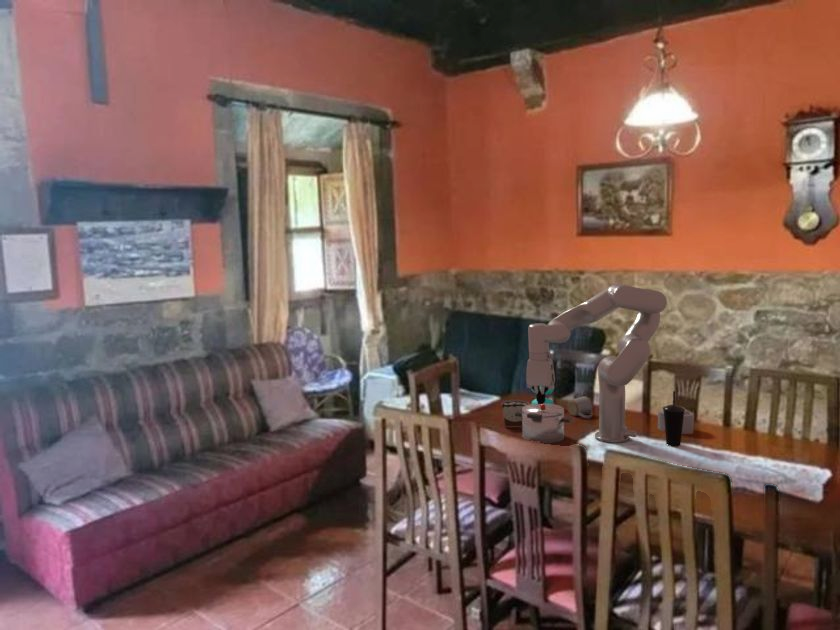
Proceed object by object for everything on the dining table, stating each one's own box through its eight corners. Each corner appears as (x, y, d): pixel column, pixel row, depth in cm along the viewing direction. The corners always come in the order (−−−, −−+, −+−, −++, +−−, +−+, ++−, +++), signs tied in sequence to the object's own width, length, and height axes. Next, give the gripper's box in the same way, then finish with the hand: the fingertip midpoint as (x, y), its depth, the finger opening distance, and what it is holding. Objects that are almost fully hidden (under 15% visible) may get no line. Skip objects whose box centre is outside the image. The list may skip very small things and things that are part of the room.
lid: (569, 408, 258) (569, 402, 258) (553, 421, 243) (553, 413, 243) (530, 404, 267) (530, 398, 266) (513, 416, 251) (513, 409, 251)
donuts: (529, 383, 305) (551, 382, 306) (529, 404, 307) (551, 403, 307) (533, 388, 296) (556, 387, 296) (533, 410, 297) (556, 409, 297)
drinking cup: (670, 448, 239) (671, 394, 237) (658, 442, 246) (658, 390, 244) (689, 446, 241) (690, 392, 239) (675, 440, 248) (676, 388, 246)
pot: (577, 435, 258) (577, 410, 257) (563, 446, 245) (563, 420, 243) (524, 428, 269) (524, 404, 268) (508, 438, 256) (508, 413, 255)
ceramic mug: (566, 414, 288) (566, 397, 287) (580, 411, 292) (580, 394, 291) (582, 420, 279) (582, 402, 278) (597, 417, 283) (597, 399, 282)
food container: (530, 422, 277) (529, 399, 276) (531, 427, 271) (530, 403, 270) (500, 422, 278) (500, 399, 277) (500, 427, 272) (500, 403, 271)
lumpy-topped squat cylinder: (669, 424, 270) (669, 403, 269) (699, 430, 260) (699, 409, 259) (654, 429, 264) (654, 407, 263) (684, 436, 253) (685, 414, 252)
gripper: (561, 355, 249) (563, 402, 251) (524, 353, 257) (526, 399, 259) (554, 358, 243) (556, 407, 245) (517, 357, 250) (519, 404, 253)
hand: (541, 403), depth 252 cm, fingers closed
